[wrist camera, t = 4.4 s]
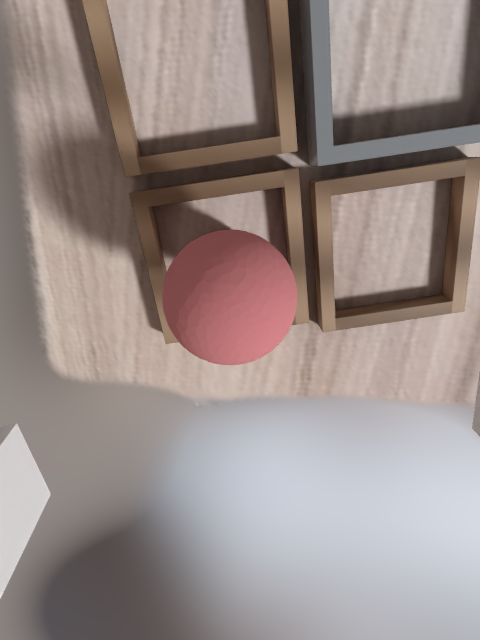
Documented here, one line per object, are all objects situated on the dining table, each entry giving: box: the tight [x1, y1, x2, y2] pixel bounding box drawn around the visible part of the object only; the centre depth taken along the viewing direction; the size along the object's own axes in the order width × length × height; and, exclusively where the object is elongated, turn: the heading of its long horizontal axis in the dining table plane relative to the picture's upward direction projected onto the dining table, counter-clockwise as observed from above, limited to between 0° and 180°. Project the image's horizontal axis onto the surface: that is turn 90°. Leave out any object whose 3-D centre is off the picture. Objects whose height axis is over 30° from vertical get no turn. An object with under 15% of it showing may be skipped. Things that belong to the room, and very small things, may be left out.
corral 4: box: [310, 157, 480, 332], centre depth 28 cm, size 11×11×2 cm
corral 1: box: [82, 0, 298, 177], centre depth 23 cm, size 11×11×2 cm
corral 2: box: [129, 167, 309, 344], centre depth 27 cm, size 11×11×2 cm
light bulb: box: [162, 230, 297, 365], centre depth 23 cm, size 7×7×12 cm
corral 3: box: [299, 0, 480, 166], centre depth 22 cm, size 13×13×2 cm
